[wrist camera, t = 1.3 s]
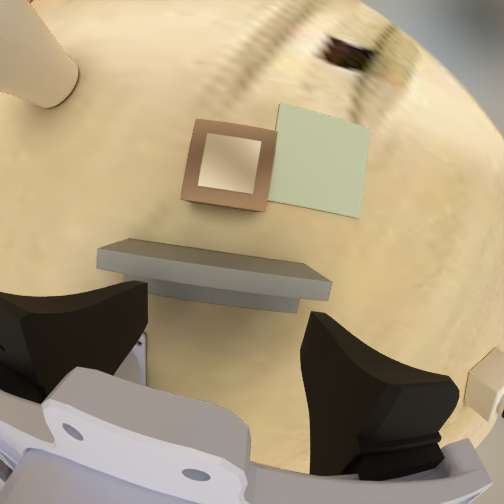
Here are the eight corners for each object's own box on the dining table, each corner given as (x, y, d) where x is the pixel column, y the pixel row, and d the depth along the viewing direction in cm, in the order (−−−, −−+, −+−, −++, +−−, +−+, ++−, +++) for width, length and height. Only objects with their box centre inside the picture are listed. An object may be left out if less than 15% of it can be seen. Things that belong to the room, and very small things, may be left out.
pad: (357, 218, 22) (359, 218, 21) (264, 200, 21) (265, 199, 20) (367, 129, 21) (369, 128, 20) (279, 104, 20) (280, 103, 19)
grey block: (294, 310, 22) (317, 342, 16) (125, 287, 21) (96, 312, 15) (304, 263, 22) (332, 282, 16) (129, 238, 20) (97, 248, 14)
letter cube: (258, 212, 21) (269, 212, 16) (190, 202, 20) (179, 199, 15) (268, 149, 20) (281, 131, 15) (201, 139, 20) (195, 117, 15)
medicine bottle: (462, 402, 28) (506, 439, 16) (468, 371, 27) (520, 408, 15) (489, 378, 29) (533, 408, 17) (495, 346, 27) (545, 375, 16)
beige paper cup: (92, 47, 17) (20, -42, 2) (82, 106, 18) (-27, 30, 3) (39, 68, 16) (-44, 8, 2) (28, 125, 17) (-80, 85, 3)
